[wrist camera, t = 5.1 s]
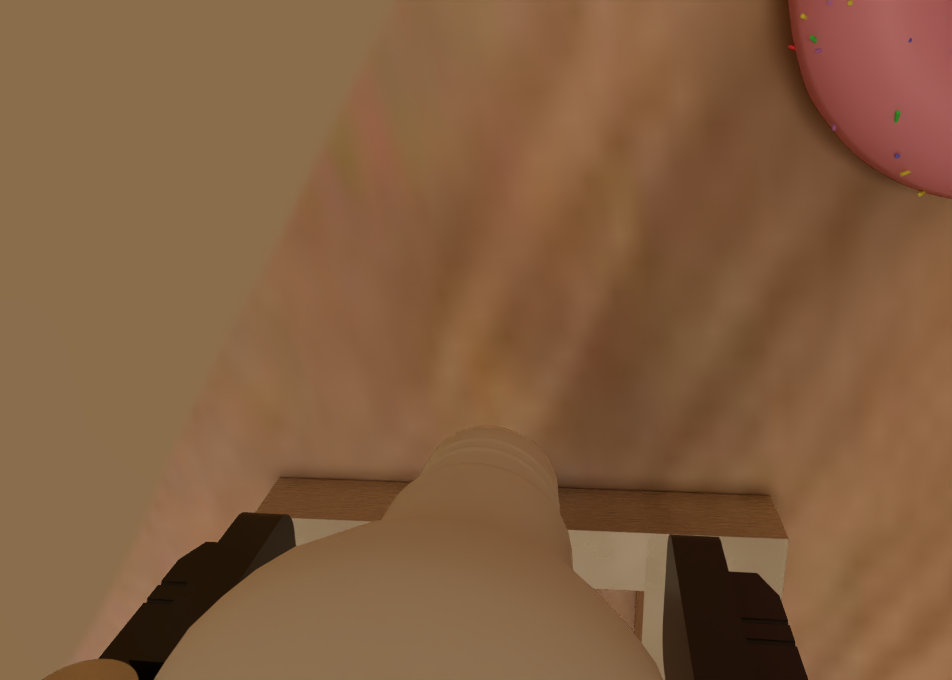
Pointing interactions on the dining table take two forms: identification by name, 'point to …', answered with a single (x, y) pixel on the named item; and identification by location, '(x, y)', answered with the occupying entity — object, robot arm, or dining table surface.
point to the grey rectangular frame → (583, 533)
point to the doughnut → (883, 82)
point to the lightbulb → (427, 589)
